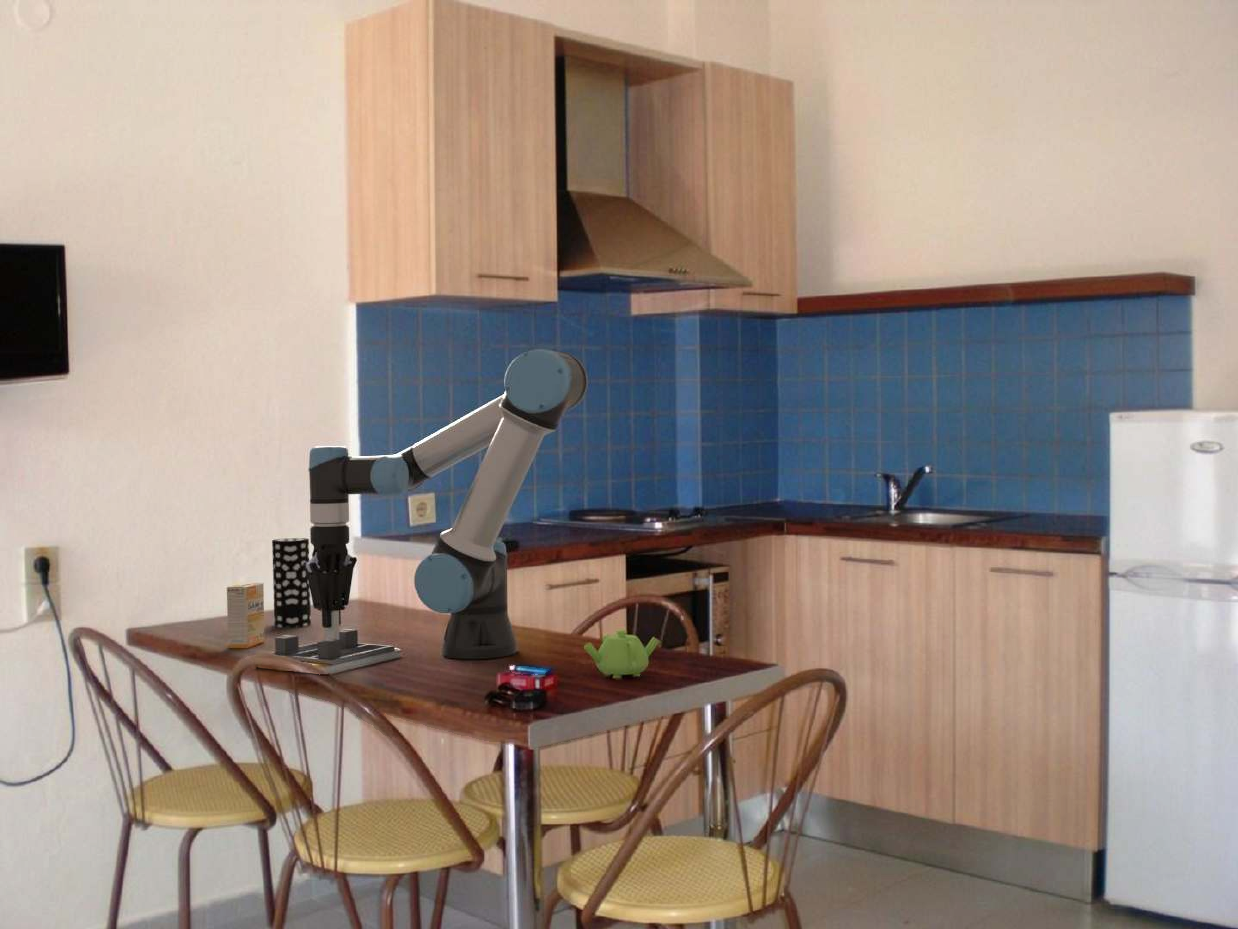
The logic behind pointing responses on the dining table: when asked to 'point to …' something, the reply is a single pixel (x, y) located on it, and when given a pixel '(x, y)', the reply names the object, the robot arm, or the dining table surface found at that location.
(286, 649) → the breaker
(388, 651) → the panel
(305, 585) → the spotted tube
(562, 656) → the dining table surface
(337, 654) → the breaker
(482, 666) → the dining table surface
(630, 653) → the teapot
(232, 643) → the supplement box
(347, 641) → the breaker mid
